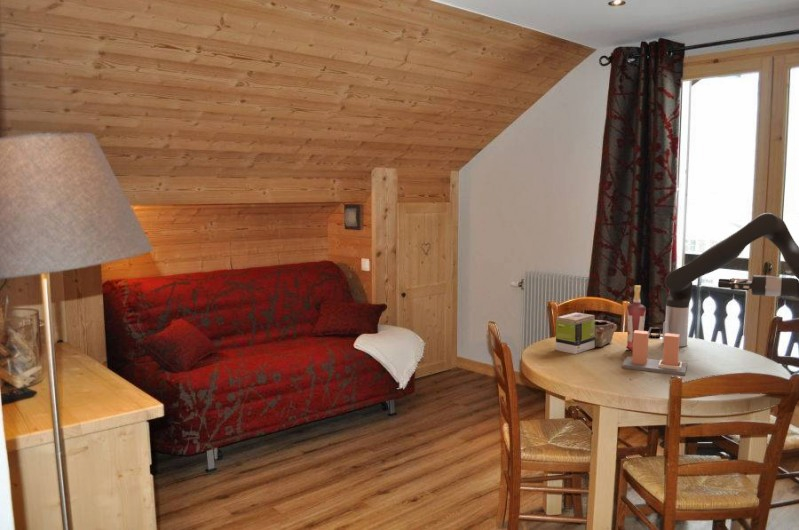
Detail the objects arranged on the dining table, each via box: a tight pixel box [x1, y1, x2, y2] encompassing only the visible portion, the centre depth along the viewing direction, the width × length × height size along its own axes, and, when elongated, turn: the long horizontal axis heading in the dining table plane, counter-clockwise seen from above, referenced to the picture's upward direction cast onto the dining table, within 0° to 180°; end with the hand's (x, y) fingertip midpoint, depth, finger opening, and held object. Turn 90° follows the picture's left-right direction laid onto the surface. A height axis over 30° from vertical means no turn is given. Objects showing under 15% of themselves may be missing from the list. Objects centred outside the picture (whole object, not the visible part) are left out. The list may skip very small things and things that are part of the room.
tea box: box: [555, 312, 596, 355], centre depth 271 cm, size 15×10×15 cm, turn 131°
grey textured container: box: [594, 319, 618, 348], centre depth 283 cm, size 13×20×10 cm, turn 135°
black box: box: [648, 326, 663, 340], centre depth 294 cm, size 13×8×5 cm, turn 81°
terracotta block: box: [662, 333, 680, 366], centre depth 241 cm, size 5×5×12 cm
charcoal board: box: [621, 330, 688, 377], centre depth 244 cm, size 22×14×13 cm, turn 63°
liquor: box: [625, 284, 647, 353], centre depth 267 cm, size 7×7×28 cm
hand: (718, 283), depth 246 cm, fingers open, 8 cm apart
